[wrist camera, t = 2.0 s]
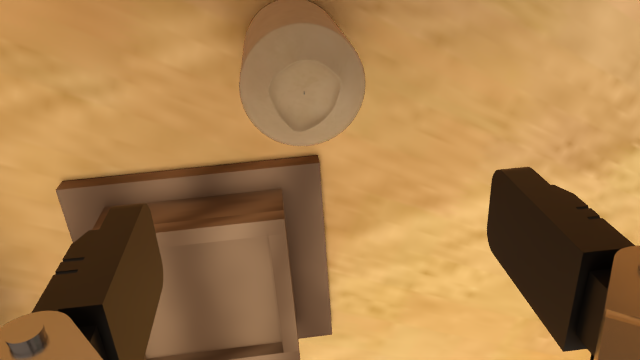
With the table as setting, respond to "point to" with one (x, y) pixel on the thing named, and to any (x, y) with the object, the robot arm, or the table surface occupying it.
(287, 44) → the candle
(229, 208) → the display pedestal
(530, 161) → the table surface
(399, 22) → the table surface
